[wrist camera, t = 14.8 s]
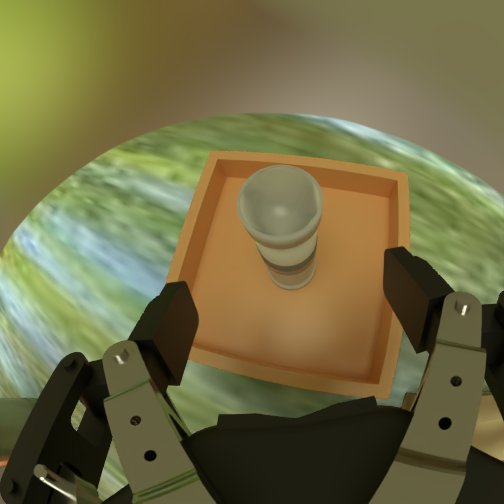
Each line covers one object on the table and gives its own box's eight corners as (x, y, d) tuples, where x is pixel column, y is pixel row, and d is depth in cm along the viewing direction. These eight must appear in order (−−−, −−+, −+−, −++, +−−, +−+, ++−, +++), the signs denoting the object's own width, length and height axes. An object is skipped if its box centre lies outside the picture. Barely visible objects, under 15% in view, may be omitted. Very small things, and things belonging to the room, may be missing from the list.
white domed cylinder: (310, 294, 21) (316, 246, 11) (263, 285, 22) (227, 232, 12) (318, 248, 22) (327, 169, 12) (273, 241, 23) (247, 161, 13)
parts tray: (374, 390, 18) (388, 399, 15) (172, 346, 23) (149, 345, 19) (396, 196, 23) (407, 173, 20) (222, 174, 28) (210, 150, 24)
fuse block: (516, 462, 9) (527, 466, 7) (371, 489, 15) (376, 501, 12) (541, 384, 12) (553, 384, 10) (405, 392, 18) (416, 397, 15)
